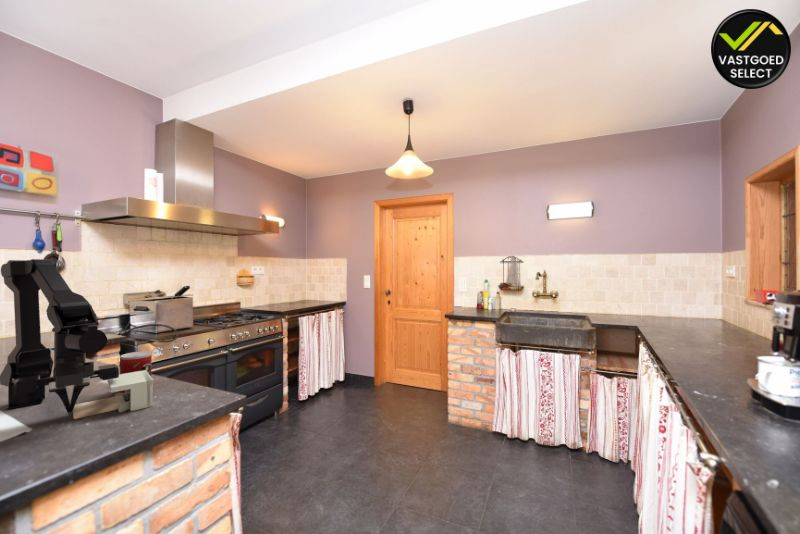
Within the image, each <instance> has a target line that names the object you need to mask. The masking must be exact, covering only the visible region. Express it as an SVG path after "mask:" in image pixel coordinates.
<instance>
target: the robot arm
mask: <svg viewBox="0 0 800 534" xmlns="http://www.w3.org/2000/svg"><path fill="white" fill-rule="evenodd" d="M0 274H1V277H2V278H3V282H4V285H5V286H6V287H7V288H8V289H9V290H10V291H11V293H13V307H14V308H13V309H14V330H15V347H14V348H13V349H12V351H10V353H9V354H8V355H7V358H6V359H7V363H6V364H5V366H4V367H3V370H2V371H1V372H0V385H1V386H5V387H7V388H8V389H7V391H8V396H7V397H8V398H7V403H8V404H7V406H6V410H11V409H16V408H21V407H28V406H32V405H39V404H42V403H43V401H44V400H45V399H46V386H48V387H49V390H48V392H49V393H55V394H56V395H57V396H58V397H59V399H60V400H61V402H62V404H63V406H64V409H65V411H66V412H67V414H71V413H73V409H74V406H75V405H76V404H77V401H78V399H79V396H80V394H81V392H82V391H83V390H84V388H86V387H89V386H90V385H91V384H90V382H91V381H90V380H91V379H95V378H99V379H100V380H102V381H107V380H108V379H114V378H118V377H119V374H120V367H119V366H118V364H116V363H112V364H111V363H110V364H104V365H99V366H98V369H96V370H94V369H95V368H94V366H95V362H94V361H87V362H86V360H87V357H86V354H88V355H89V354H90V355H92V354H96V353H99V352H101V351H102V350H103V349H104V348H105V347H106V345H107V343H108V337H107V335H106V333H105V332H104V331H102V330H100V329H98V327H99V325H100V322H99V319H100V318H99V317H98V316H97V313H96V312H95V310H94V309H93V305H92V304H90V302H89V301H88V300H87V299H86V298H85V297H84V296H83V295H81V294H78V293H77V292H74V291H73V290H72V289H71V288H70V286H69V285H68V284H67V282H66V281H65V279H64V278H63V276H62V274H61V273H60V272H59V270H58V269H57V263H56V261H55V260H51V259H48V258H47V259H46V258H45V259H44V258H42V259H40V258H39V259H38V258H36V259H35V258H32V259H28V260H20V259H18V260H16V259H14V260H13V259H10V260H8V261H7V262H6V263H3V264H2V265H1V267H0ZM39 291H41V293H42V294H43V296H44V297H45V298H46V300H47V303H48V305H47V308H46V317H47V319H48V321H49V322H50V323H51V325H52V326H53V327H52V329H51V332H53V333H54V334H53V335H54V341H53V342H54V343H53V344H54V346H53V347H54V349H53V350H54V351H53V352H54V354H53V355H54V356H53V358H52V355H51V354H52V351H51V349H50V348H49V347H46V346H45V345H44V344H43V343H42V339H41V338H42V337H41V334H42V333H41V314H40V292H39ZM52 373H53V374H52ZM51 375H53V376H51ZM70 386H72V392H71V398H70V396H69V391H68V387H70Z"/></svg>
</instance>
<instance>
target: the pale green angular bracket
mask: <svg viewBox="0 0 800 534" xmlns="http://www.w3.org/2000/svg"><path fill="white" fill-rule="evenodd" d="M106 381H107V384H108V387H109V390H110V393H115V394H114V397H115V396H120V395H122V396H123V398H124V400H125V402H124V403H121V404H119V409H118V413H123V412H126V411H128V410H130V412H134V411H137V410H141V409H145V408H150V407H153V385H154V379H153V378H152V375H151V376H150V375H149V373H148V372H147V371H146V370H143V371H137V372H131V373H125V374H120V373H119V377H118V378H114V379H108V380H106ZM122 390H125V393H121V391H122ZM117 392H120V393H117Z"/></svg>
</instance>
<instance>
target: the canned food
mask: <svg viewBox="0 0 800 534" xmlns="http://www.w3.org/2000/svg"><path fill="white" fill-rule="evenodd" d="M152 361H153V358H152V352H151V351H146V350H145V351H133V352H127V353H125V354H121V355H120V357H119V374H125V373H131V372H137V371H143V370H146V371H147V372H148V373H149V375H150V376H151V377H152V373H153V372H152V371H153V370H152V367H153V366H152V363H153V362H152ZM120 393H125V390H122V391H120Z"/></svg>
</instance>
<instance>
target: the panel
mask: <svg viewBox="0 0 800 534" xmlns="http://www.w3.org/2000/svg"><path fill="white" fill-rule="evenodd" d="M124 402H126V400H124V398H123V396H122V395H120V396H115V395H114V396H111V397H106V398H101V399H97V400H91V401H87V402H82V403H76V404H75V406H74V409H73V411H72V415H73V420H76V419H81V418H85V417H90V416H93V415H99V414H103V413H107V412H108V413H109V412H111V411H116V409H117V410H119V404H121V403H124Z"/></svg>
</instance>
